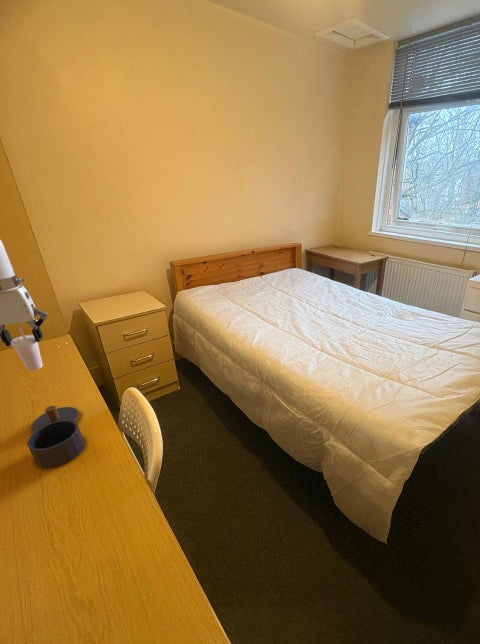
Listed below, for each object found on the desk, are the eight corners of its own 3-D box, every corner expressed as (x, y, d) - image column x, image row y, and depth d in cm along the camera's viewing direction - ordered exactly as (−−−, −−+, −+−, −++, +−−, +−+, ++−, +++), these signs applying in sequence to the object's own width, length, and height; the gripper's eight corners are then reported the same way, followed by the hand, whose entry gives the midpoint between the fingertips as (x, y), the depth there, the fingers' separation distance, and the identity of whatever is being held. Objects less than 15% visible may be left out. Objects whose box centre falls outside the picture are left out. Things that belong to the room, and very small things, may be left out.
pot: (30, 473, 83) (21, 455, 80) (42, 443, 92) (34, 425, 89) (81, 460, 86) (73, 442, 84) (87, 432, 96) (81, 415, 93)
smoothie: (31, 374, 95) (13, 332, 89) (17, 370, 97) (-2, 329, 91) (53, 364, 101) (37, 323, 94) (38, 360, 102) (22, 320, 96)
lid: (27, 441, 92) (19, 426, 90) (38, 415, 102) (32, 401, 99) (75, 430, 96) (69, 415, 94) (82, 406, 106) (77, 392, 104)
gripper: (42, 276, 93) (61, 332, 101) (-36, 283, 86) (-8, 341, 94) (35, 284, 87) (56, 342, 95) (-49, 291, 80) (-18, 353, 88)
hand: (24, 341), depth 95 cm, fingers closed on smoothie, 6 cm apart
